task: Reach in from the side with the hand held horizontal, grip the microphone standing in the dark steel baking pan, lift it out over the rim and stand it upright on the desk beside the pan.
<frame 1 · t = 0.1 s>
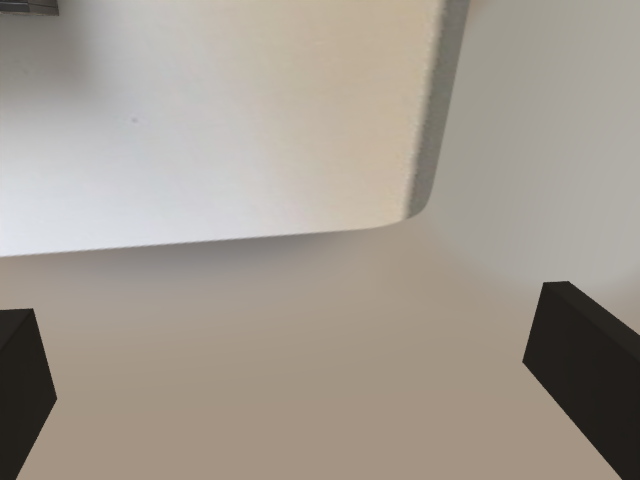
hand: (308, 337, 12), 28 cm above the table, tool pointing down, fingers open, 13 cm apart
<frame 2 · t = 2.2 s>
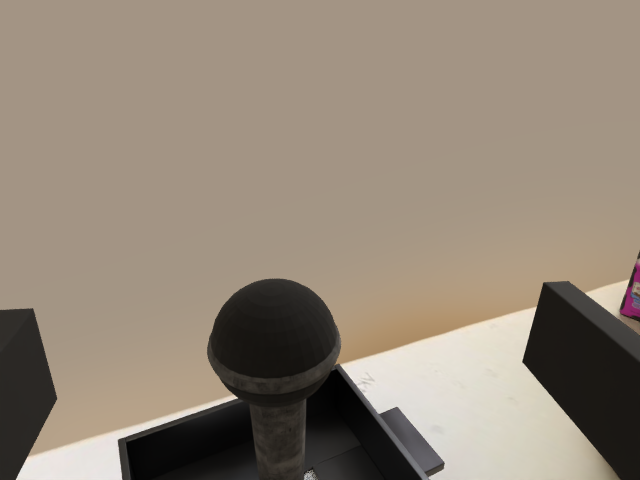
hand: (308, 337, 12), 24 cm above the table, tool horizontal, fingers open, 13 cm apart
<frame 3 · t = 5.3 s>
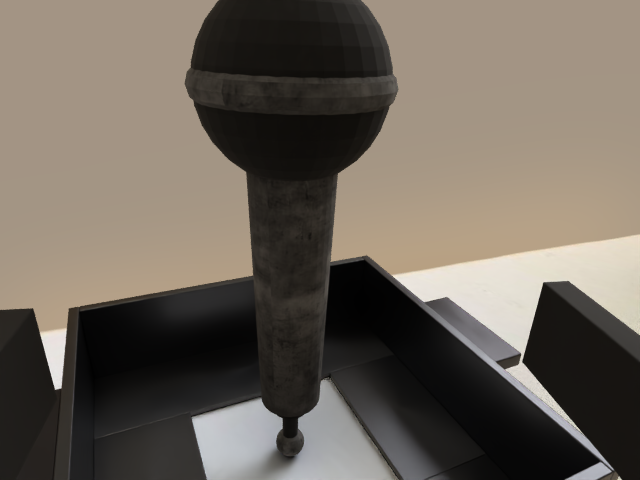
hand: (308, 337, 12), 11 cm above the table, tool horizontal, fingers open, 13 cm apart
microphone: (290, 454, 22), resting in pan
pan: (290, 450, 22), on the table
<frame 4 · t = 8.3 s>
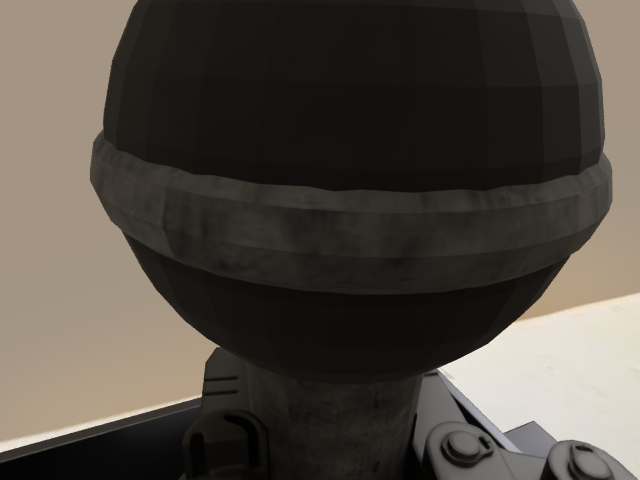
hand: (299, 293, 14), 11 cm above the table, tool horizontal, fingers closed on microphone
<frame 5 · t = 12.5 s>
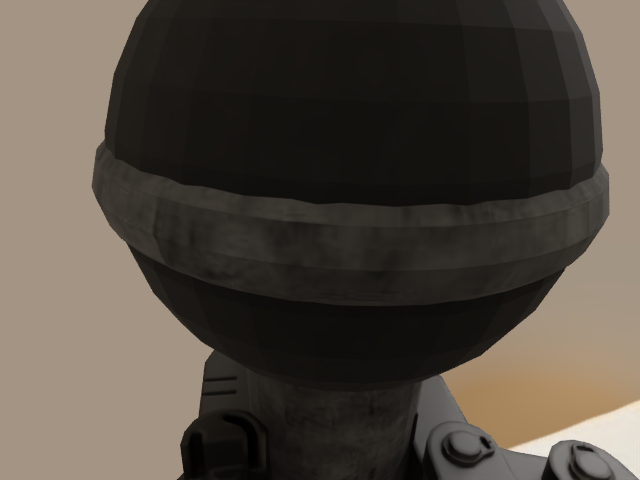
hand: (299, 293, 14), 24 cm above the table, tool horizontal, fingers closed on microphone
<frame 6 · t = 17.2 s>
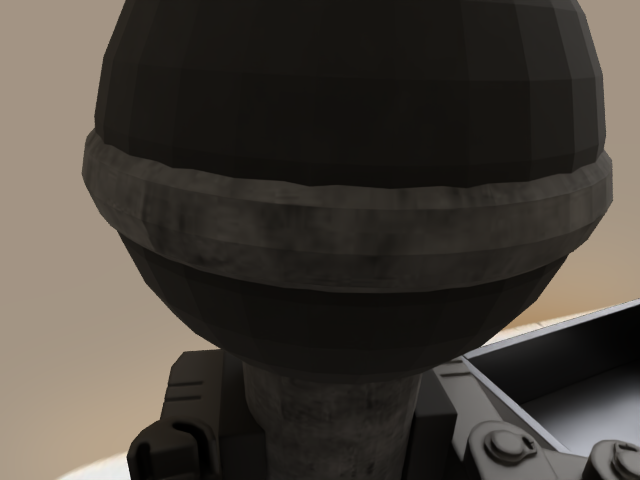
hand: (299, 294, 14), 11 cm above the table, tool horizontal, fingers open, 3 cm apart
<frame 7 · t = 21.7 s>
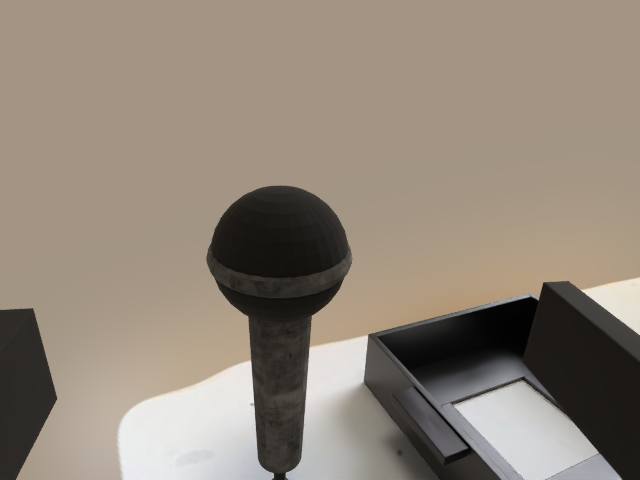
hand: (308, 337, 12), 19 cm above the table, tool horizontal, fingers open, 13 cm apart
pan: (526, 426, 34), on the table
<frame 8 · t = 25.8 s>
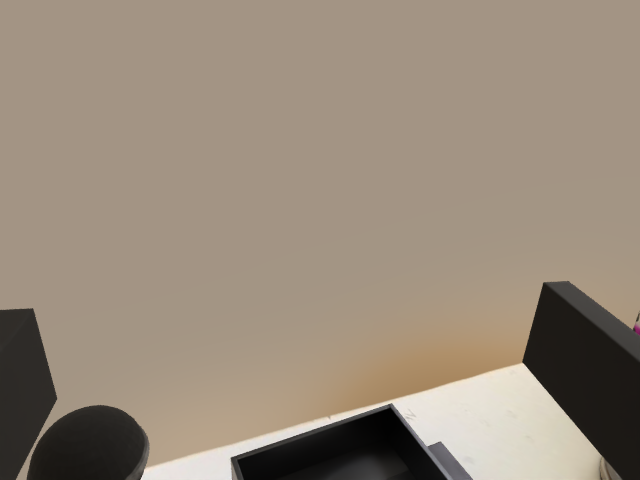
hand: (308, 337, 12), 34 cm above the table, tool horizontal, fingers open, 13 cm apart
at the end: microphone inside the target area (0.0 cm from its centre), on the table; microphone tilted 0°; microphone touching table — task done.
